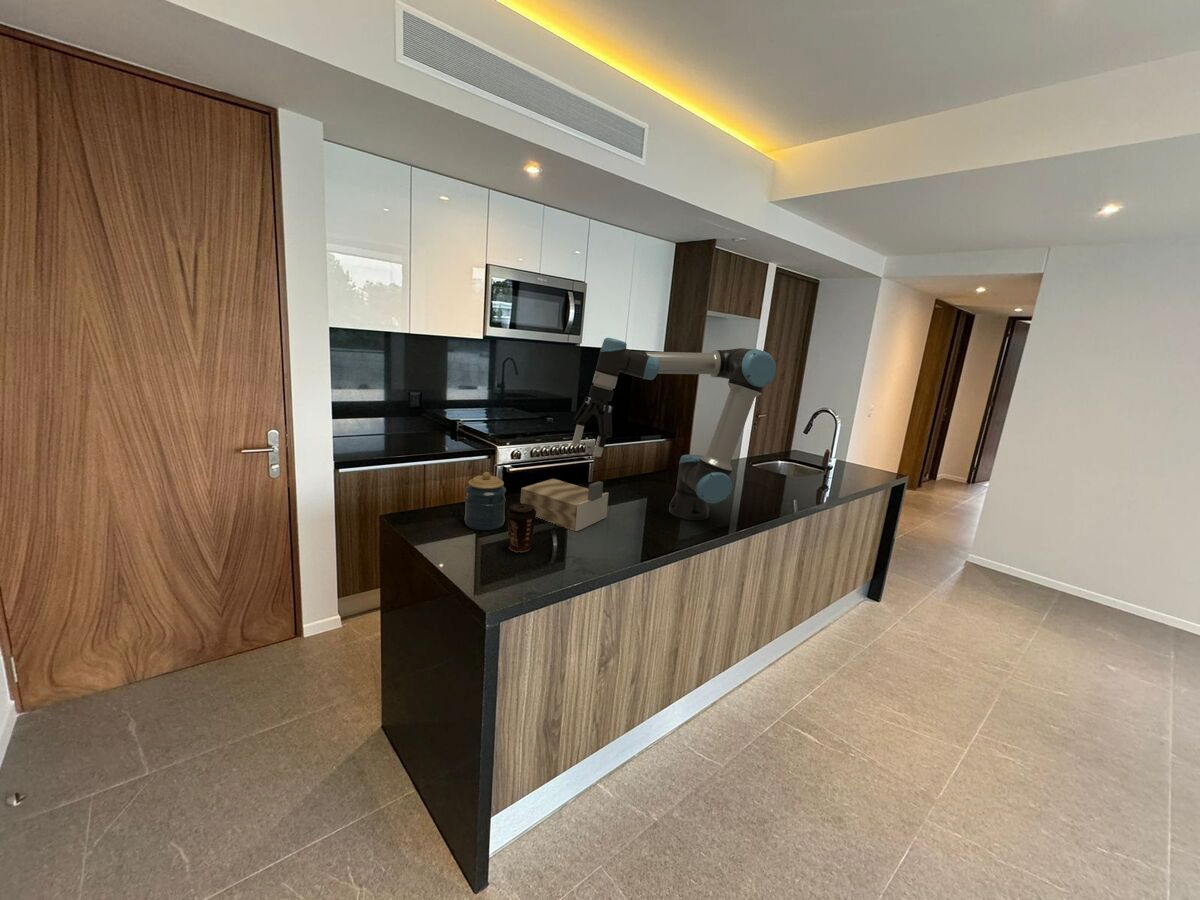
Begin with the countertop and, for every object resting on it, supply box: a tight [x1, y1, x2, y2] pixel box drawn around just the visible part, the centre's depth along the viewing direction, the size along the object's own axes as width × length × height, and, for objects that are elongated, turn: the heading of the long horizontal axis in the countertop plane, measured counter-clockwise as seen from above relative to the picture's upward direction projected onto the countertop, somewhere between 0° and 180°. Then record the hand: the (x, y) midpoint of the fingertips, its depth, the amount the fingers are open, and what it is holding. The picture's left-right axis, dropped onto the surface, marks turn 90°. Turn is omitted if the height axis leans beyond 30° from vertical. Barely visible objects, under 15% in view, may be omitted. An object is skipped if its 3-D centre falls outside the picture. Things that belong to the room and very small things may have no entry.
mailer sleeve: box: [519, 478, 605, 532], centre depth 178 cm, size 24×18×9 cm
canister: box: [464, 471, 507, 531], centre depth 163 cm, size 13×13×18 cm
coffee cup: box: [506, 502, 537, 553], centre depth 148 cm, size 9×8×13 cm
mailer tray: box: [574, 480, 610, 532], centre depth 176 cm, size 25×18×15 cm
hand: (585, 449), depth 164 cm, fingers open, 13 cm apart
